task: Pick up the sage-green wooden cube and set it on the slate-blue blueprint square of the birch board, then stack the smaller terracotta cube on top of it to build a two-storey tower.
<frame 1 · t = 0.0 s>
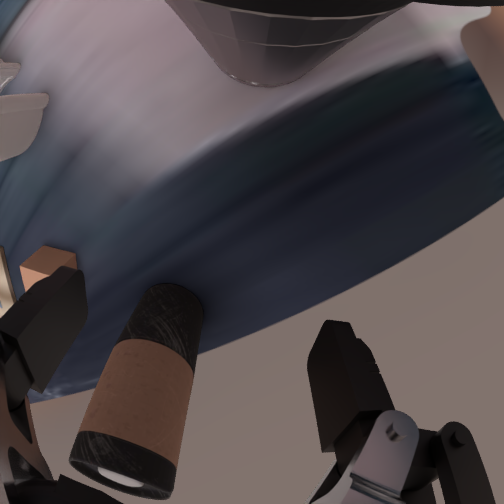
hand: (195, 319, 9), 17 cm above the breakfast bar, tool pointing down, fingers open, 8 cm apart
terracotta block: (61, 267, 28), on the breakfast bar
travel mug: (172, 308, 30), on the breakfast bar
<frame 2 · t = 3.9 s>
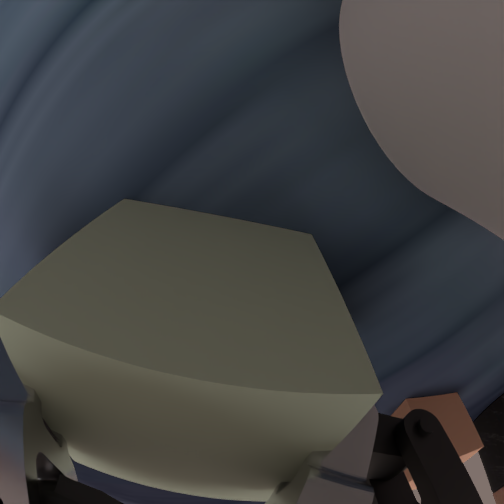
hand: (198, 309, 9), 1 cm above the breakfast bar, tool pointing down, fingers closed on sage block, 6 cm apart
sage block: (202, 296, 10), on the breakfast bar, touching gripper
terracotta block: (412, 417, 14), on the breakfast bar
travel mug: (496, 407, 17), on the breakfast bar
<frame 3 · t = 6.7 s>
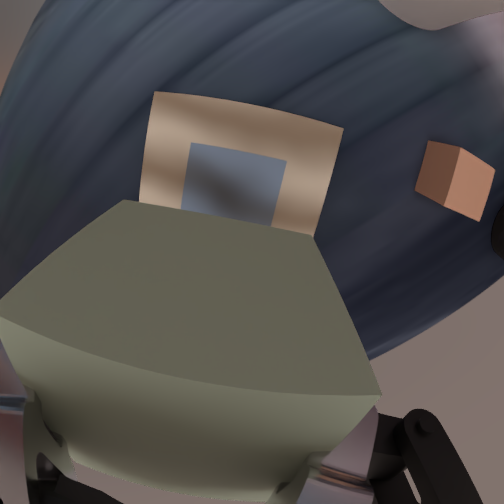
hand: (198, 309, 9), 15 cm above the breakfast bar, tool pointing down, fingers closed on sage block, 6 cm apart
sage block: (202, 297, 10), point 15 cm above the breakfast bar, touching gripper
terracotta block: (440, 173, 22), on the breakfast bar
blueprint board: (230, 194, 23), on the breakfast bar
when the fingers open (3 cm above the breakfast bar, at t = 9.6 s): sage block stays where it is, resting on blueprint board.
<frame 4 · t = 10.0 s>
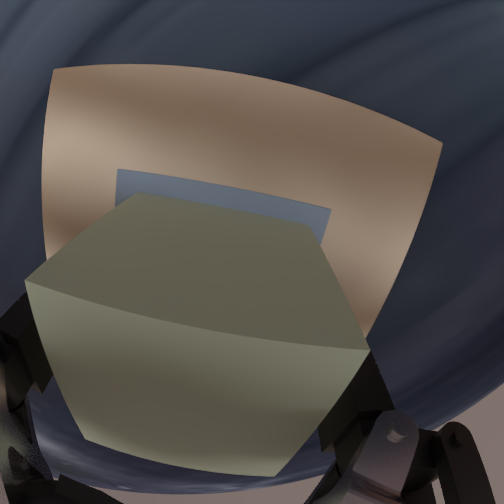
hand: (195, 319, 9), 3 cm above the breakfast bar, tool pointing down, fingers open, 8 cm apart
sage block: (208, 283, 11), point 1 cm above the breakfast bar, touching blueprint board
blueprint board: (208, 271, 11), on the breakfast bar
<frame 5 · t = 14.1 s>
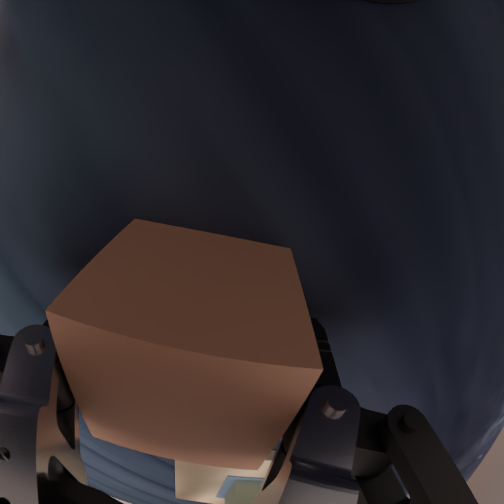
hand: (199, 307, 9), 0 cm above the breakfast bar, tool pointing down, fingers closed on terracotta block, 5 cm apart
sage block: (265, 490, 17), point 1 cm above the breakfast bar, touching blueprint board
terracotta block: (201, 298, 10), on the breakfast bar, touching gripper
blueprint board: (265, 482, 18), on the breakfast bar
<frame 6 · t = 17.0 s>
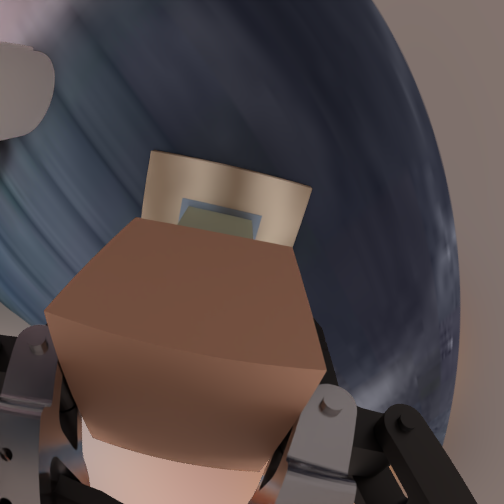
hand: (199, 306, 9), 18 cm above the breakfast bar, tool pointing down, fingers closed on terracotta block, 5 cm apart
sage block: (213, 242, 27), point 1 cm above the breakfast bar, touching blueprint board
terracotta block: (202, 298, 10), point 18 cm above the breakfast bar, touching gripper
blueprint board: (214, 239, 28), on the breakfast bar
when the fingers open (8 cm above the breakfast bar, at t = 19.5 s): terracotta block drops 1 cm, resting on sage block.
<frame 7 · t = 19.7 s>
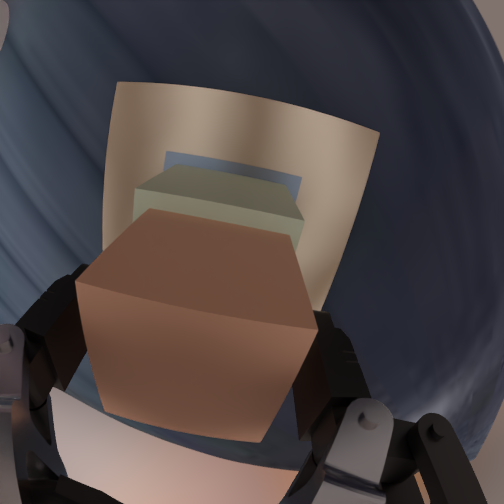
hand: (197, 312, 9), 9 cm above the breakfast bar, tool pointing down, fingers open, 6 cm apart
sage block: (220, 224, 16), point 1 cm above the breakfast bar, touching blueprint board, terracotta block
terracotta block: (207, 282, 11), point 7 cm above the breakfast bar, touching sage block
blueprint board: (222, 221, 17), on the breakfast bar
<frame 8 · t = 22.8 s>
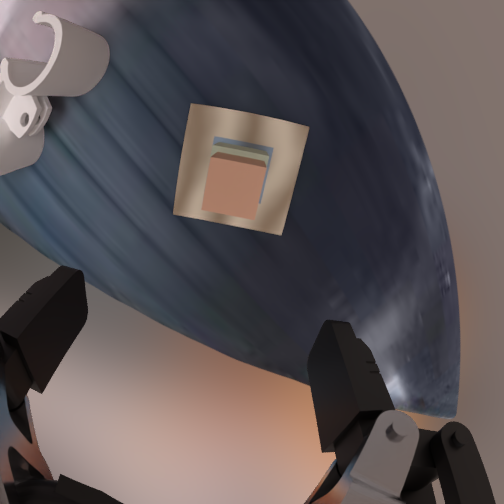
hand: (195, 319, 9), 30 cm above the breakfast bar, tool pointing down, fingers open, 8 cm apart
sage block: (237, 169, 35), point 1 cm above the breakfast bar, touching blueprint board, terracotta block
terracotta block: (236, 178, 30), point 7 cm above the breakfast bar, touching sage block
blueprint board: (238, 169, 36), on the breakfast bar
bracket: (53, 102, 31), on the breakfast bar
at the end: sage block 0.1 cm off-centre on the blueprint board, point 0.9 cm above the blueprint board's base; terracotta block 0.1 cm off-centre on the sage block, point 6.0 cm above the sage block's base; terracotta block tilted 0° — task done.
